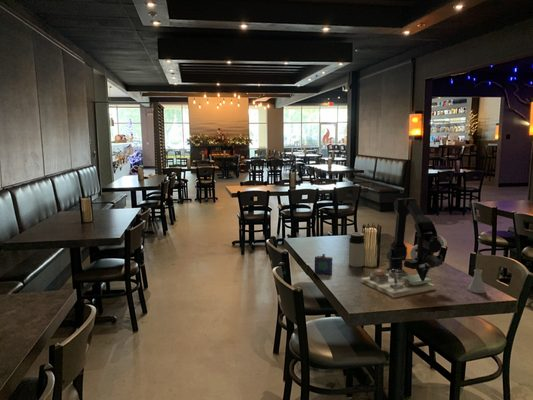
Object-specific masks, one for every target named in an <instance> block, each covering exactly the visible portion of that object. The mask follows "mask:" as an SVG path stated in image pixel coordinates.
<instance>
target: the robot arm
mask: <svg viewBox="0 0 533 400" xmlns="http://www.w3.org/2000/svg"><path fill="white" fill-rule="evenodd" d="M393 210H394V212H395V214H396V220H395V228H394V229H395V230H394V240H393V242H392V243H391V244H390V247H389V250H388V252H387V253H386V259H387V260H388V261H389V265H388V268H386V270H387V271H389V270H391V269H400V270H403V271H405V269H403V267H405V268H407V269H411V270H416V272H417V274H419V277H420V279H421V281H424V280H425V278H426V276H427V275H428V273H429V271H430V270H431V269H432V268H434V269H435V268H439V267H440V266H441V265H443V263H444V257H443V255H441V254H438V255H435V254H436V253H439V252H440V251H441V249H442V244H441V241H439V240H438V231H437V229H436V227H435V224H434V222H433V221H432V219H430V217H428V216H425V214H424V213H423V211H422V209H421V207H420V206H419V204H418V203H417V199H416V198H414V197H407V198H395V200H394V201H393ZM409 214H410V215H411V216H412V217H411V218H412V219H413V221H414V228H415V231H416V234H415V235H416V236H415V237H416V238H417V242H416V243H417V244H416V245H417V249H415V251H416V252H417V258H415V260H417V261H414V260H413V259H407V260H406V258H407V256H408V248H407V246H406V244H405V235H406V225H407V216H408V215H409ZM403 261H404V262H403Z"/></svg>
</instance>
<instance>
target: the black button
mask: <svg viewBox="0 0 533 400" xmlns="http://www.w3.org/2000/svg"><path fill="white" fill-rule="evenodd" d="M394 270H395V273H403V270H404V269H402V270H400V269H394Z"/></svg>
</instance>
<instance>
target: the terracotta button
mask: <svg viewBox="0 0 533 400" xmlns="http://www.w3.org/2000/svg"><path fill="white" fill-rule="evenodd" d="M374 273H375V274H374V275H375V276H378V277H381V276H384V274H385V271H384V270H383V269H380V268H379V269H374Z"/></svg>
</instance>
